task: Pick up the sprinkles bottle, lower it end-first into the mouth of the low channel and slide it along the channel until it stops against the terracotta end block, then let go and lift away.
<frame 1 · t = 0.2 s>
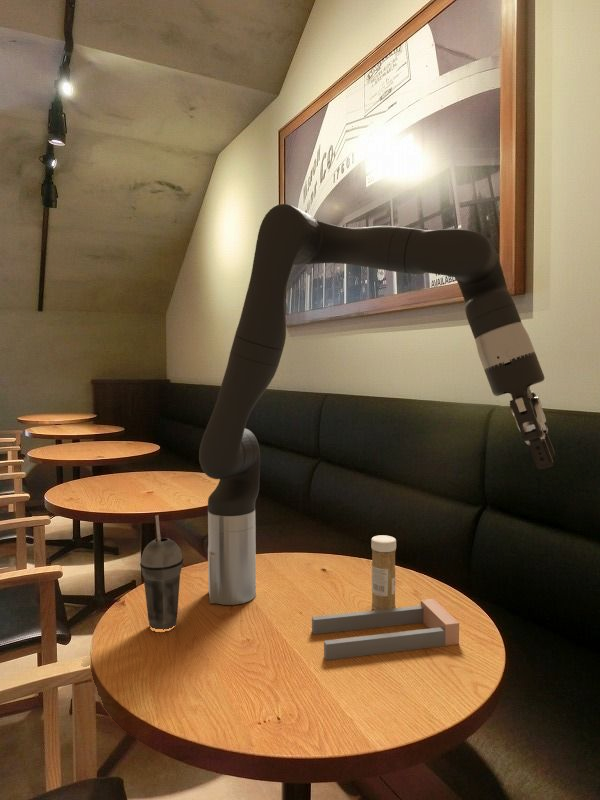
hand: (547, 462, 78), 31 cm above the table, tool tilted 20°, fingers open, 8 cm apart
beverage cup: (163, 627, 94), on the table
sprinkles bottle: (383, 609, 100), on the table
guide channel: (376, 638, 89), on the table
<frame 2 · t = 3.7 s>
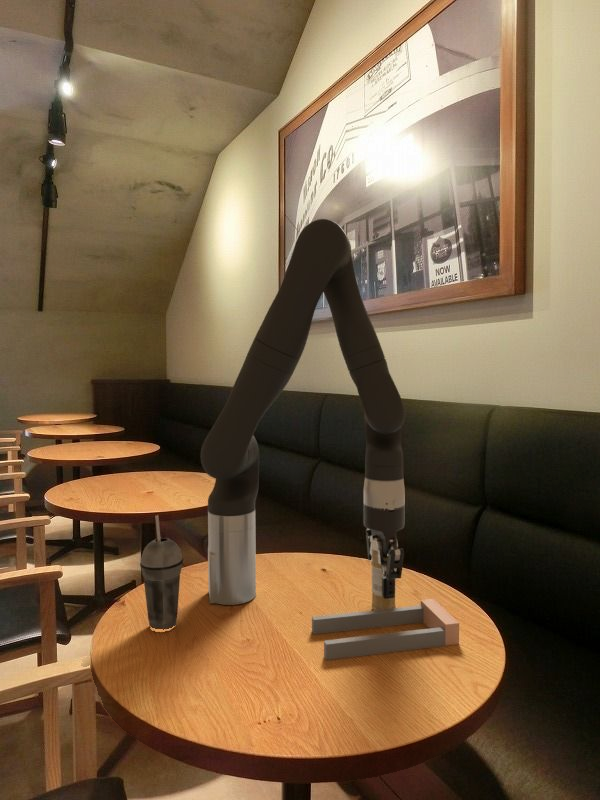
hand: (383, 591, 100), 3 cm above the table, tool pointing down, fingers closed on sprinkles bottle, 4 cm apart
sprinkles bottle: (383, 609, 100), on the table, touching gripper
everything else where it was.
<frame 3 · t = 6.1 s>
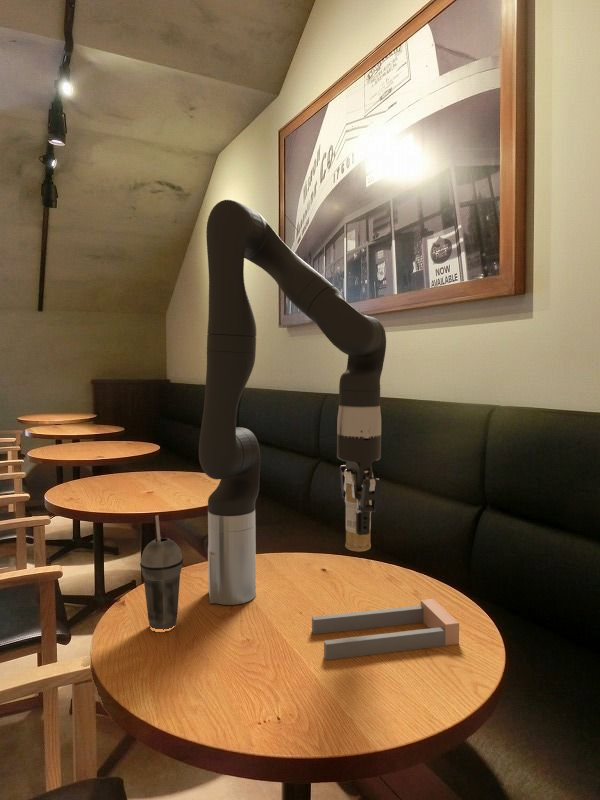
hand: (357, 529, 93), 17 cm above the table, tool pointing down, fingers closed on sprinkles bottle, 4 cm apart
sprinkles bottle: (357, 548, 93), point 13 cm above the table, touching gripper
everything else where it was.
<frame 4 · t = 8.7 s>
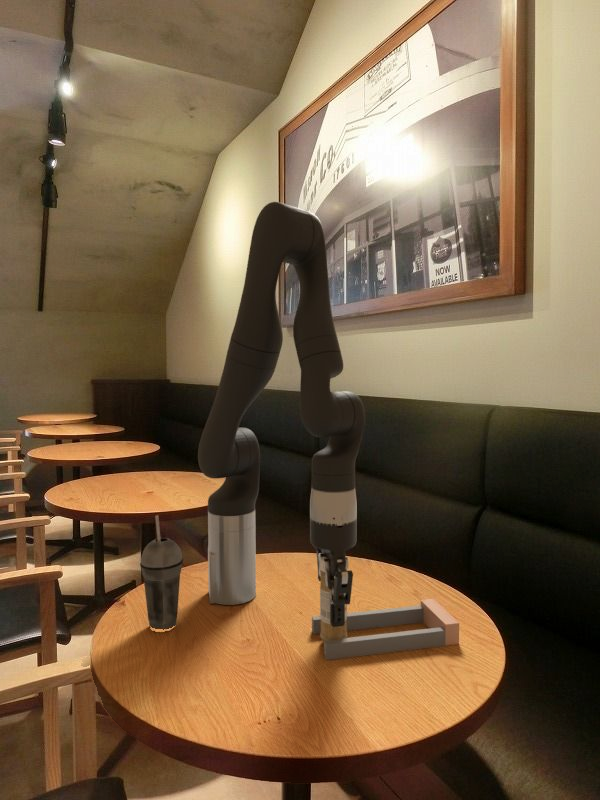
hand: (333, 617, 87), 4 cm above the table, tool pointing down, fingers closed on sprinkles bottle, 4 cm apart
sprinkles bottle: (333, 638, 88), point 1 cm above the table, touching gripper
everything else where it was.
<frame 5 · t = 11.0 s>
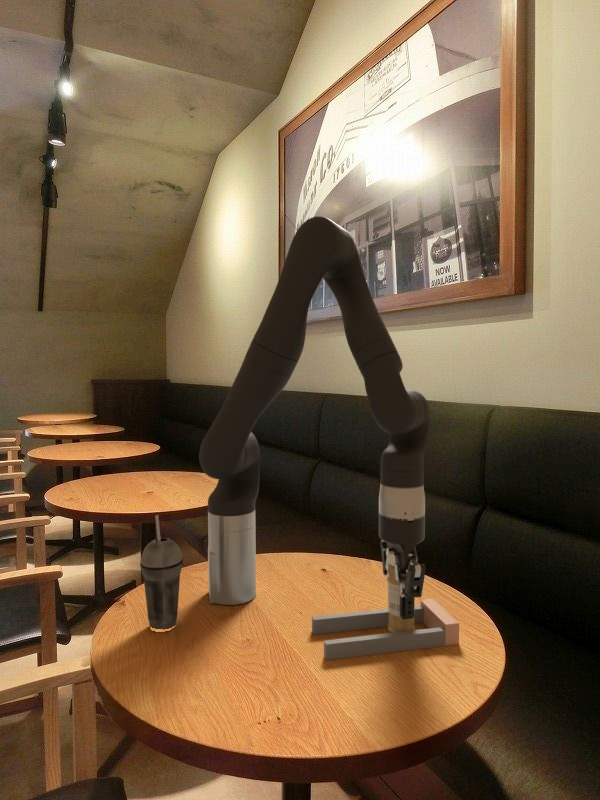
hand: (401, 610, 90), 4 cm above the table, tool pointing down, fingers closed on sprinkles bottle, 4 cm apart
sprinkles bottle: (401, 631, 90), point 1 cm above the table, touching gripper
everything else where it was.
when the fingers open (4 cm above the table, at t = 13.2 s): sprinkles bottle stays where it is, resting in guide channel.
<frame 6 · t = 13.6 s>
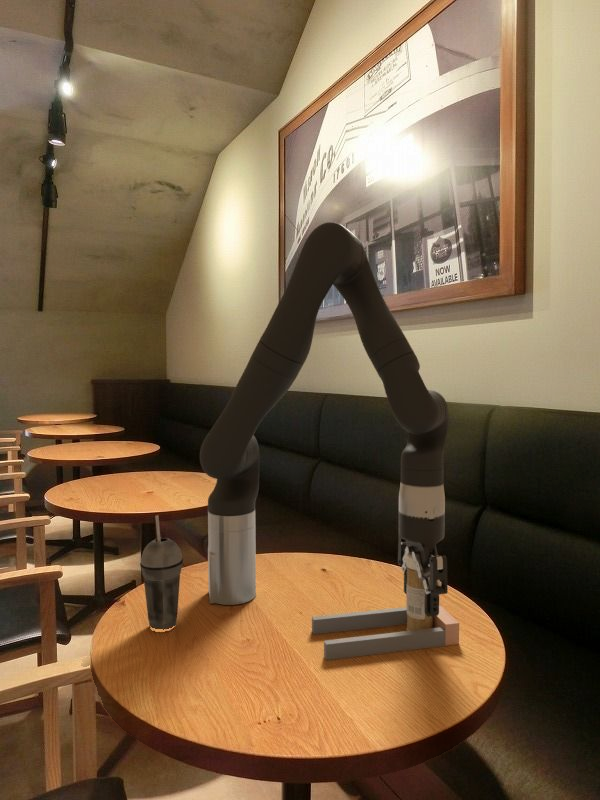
hand: (420, 603, 91), 5 cm above the table, tool pointing down, fingers open, 8 cm apart
sprinkles bottle: (419, 633, 91), resting in guide channel
everything else where it was.
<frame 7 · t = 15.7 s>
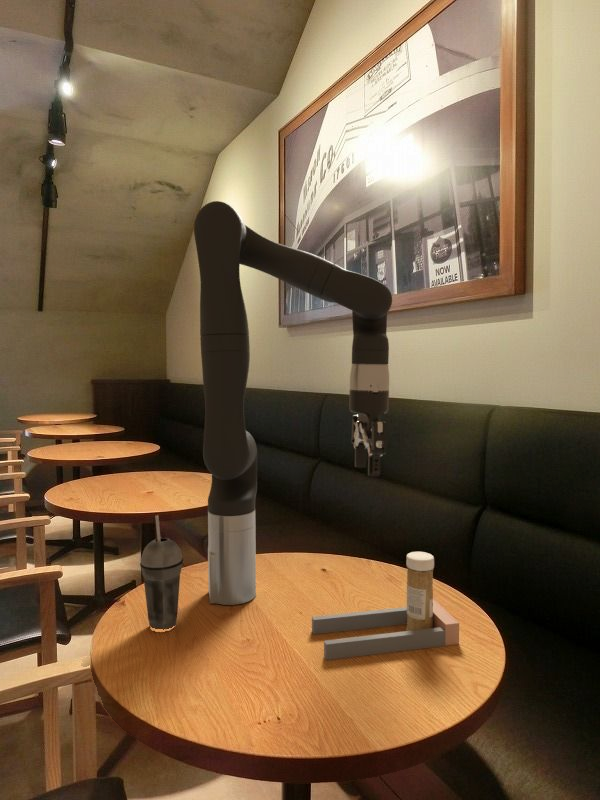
hand: (366, 471, 104), 25 cm above the table, tool pointing down, fingers open, 8 cm apart
nothing on the table moved.
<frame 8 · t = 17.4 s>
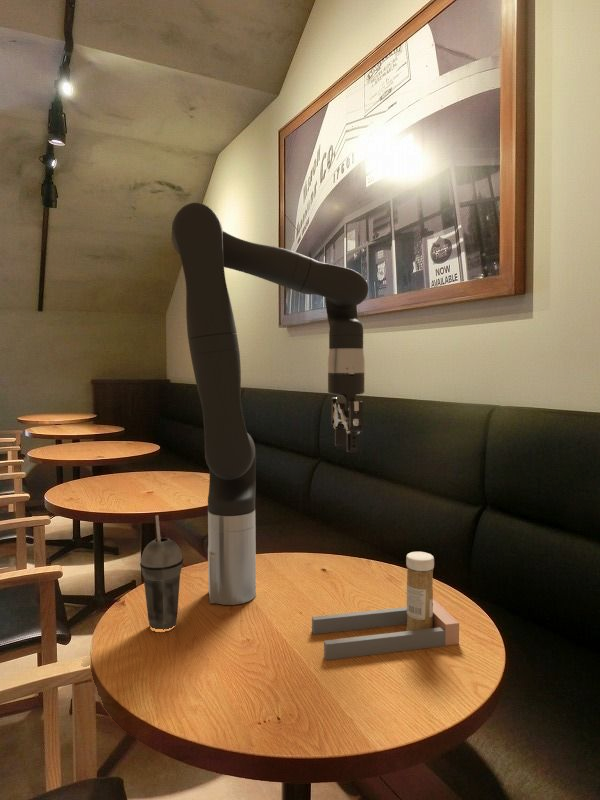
hand: (346, 449, 111), 28 cm above the table, tool pointing down, fingers open, 8 cm apart
nothing on the table moved.
at the end: sprinkles bottle 0.6 cm from the target spot on the guide channel, point 0.0 cm above the guide channel's base; sprinkles bottle tilted 0°; the gripper is holding nothing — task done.
